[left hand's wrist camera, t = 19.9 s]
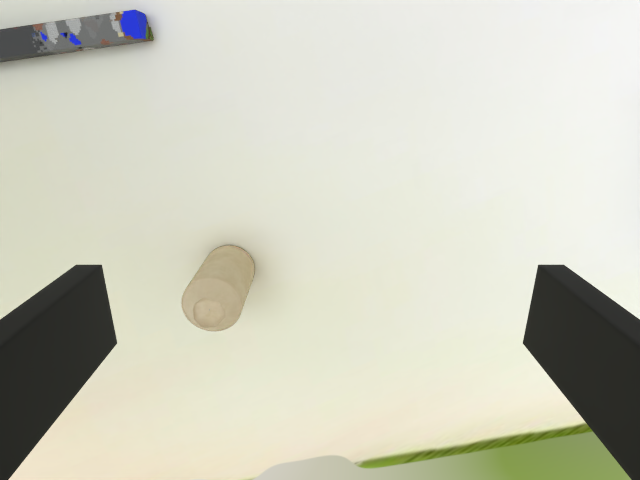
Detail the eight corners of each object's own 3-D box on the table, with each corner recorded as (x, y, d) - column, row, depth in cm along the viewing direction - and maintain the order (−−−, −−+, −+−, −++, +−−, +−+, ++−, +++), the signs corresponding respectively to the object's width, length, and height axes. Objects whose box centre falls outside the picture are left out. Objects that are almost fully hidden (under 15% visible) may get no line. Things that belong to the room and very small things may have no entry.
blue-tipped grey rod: (-84, 41, 36) (138, 9, 35) (-63, 44, 38) (148, 13, 37) (-73, 68, 37) (145, 37, 36) (-52, 69, 39) (155, 39, 38)
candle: (205, 242, 45) (174, 283, 36) (255, 246, 45) (239, 288, 36) (205, 288, 47) (177, 338, 37) (254, 291, 47) (238, 342, 38)
